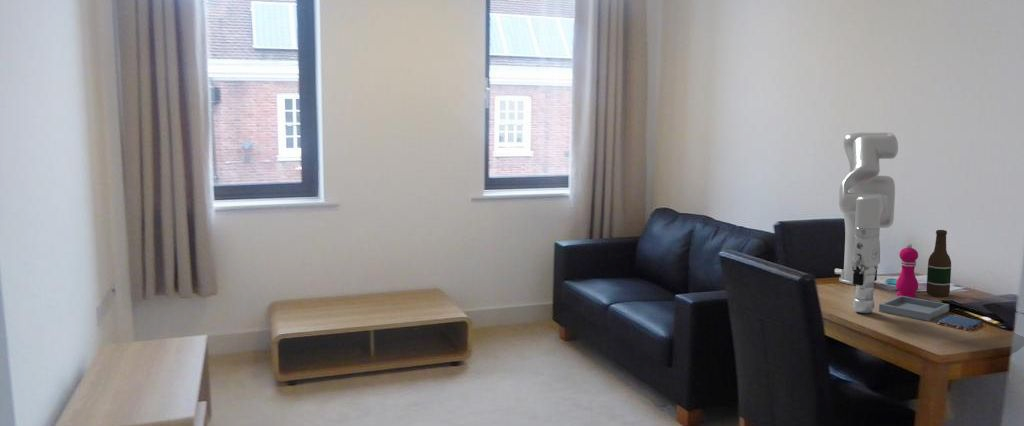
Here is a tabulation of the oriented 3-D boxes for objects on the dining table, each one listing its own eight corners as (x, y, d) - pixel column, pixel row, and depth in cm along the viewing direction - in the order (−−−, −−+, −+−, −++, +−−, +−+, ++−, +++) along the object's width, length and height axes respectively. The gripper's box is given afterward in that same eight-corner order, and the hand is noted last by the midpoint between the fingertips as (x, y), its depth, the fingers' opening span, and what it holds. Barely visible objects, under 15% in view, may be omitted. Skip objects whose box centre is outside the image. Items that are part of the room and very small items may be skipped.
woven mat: (970, 333, 226) (971, 327, 226) (934, 325, 234) (935, 319, 234) (984, 326, 232) (985, 320, 232) (949, 319, 241) (949, 313, 240)
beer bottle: (945, 298, 263) (949, 233, 259) (922, 294, 269) (925, 230, 265) (953, 294, 268) (957, 230, 264) (930, 290, 274) (933, 227, 270)
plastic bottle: (848, 311, 251) (850, 254, 248) (862, 308, 253) (865, 252, 250) (864, 316, 245) (866, 257, 242) (878, 313, 247) (881, 255, 244)
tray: (879, 311, 250) (879, 304, 249) (899, 302, 260) (899, 295, 259) (929, 321, 237) (929, 313, 237) (948, 311, 247) (949, 304, 247)
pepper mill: (920, 300, 261) (923, 245, 258) (898, 299, 263) (901, 245, 260) (913, 295, 268) (916, 241, 265) (892, 294, 270) (895, 241, 267)
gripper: (866, 237, 236) (863, 288, 239) (890, 230, 247) (887, 280, 250) (843, 234, 242) (841, 284, 244) (867, 228, 253) (865, 276, 255)
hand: (864, 282), depth 247 cm, fingers open, 9 cm apart
